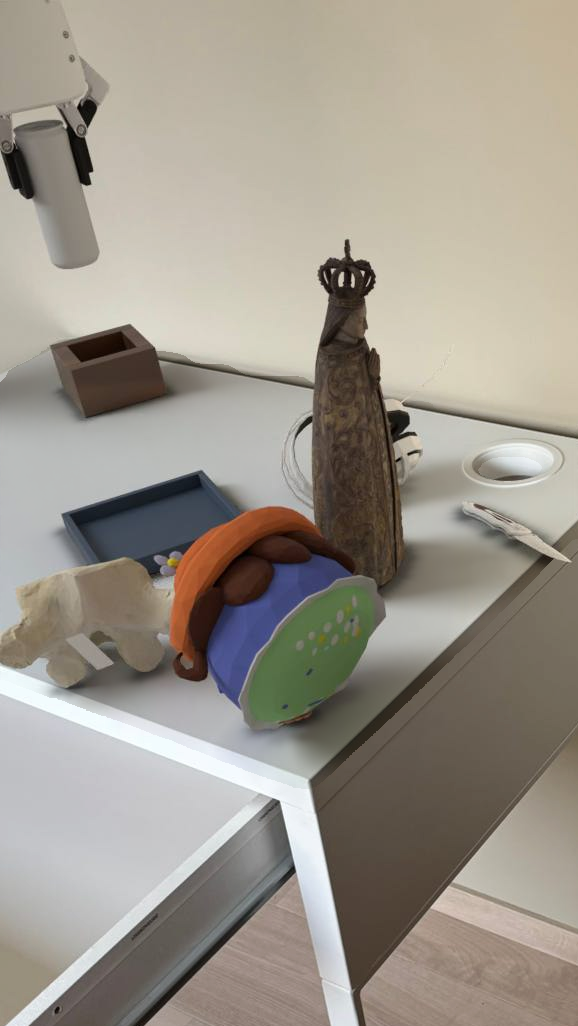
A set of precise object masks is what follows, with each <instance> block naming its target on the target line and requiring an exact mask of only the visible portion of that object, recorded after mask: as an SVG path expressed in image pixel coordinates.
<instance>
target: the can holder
mask: <svg viewBox="0 0 578 1026" xmlns="http://www.w3.org/2000/svg"><path fill="white" fill-rule="evenodd" d="M49 348H50V352H51V354H52V357H53V361H54V363H55V367H56V369H57V373H58V376H59V379H60V382H61V386H62V389H63V391H64V393H66V395H67V396H68V397H69V399H70V400H71V401H72V402H73V404H74V405H75V406H76V408H77V409H78V410H79V411H80V412H81V414H82V415H83V417H85V418H89V417H93V416H96V415H100V414H103V413H106V412H110V411H114V410H116V409H120V408H123V407H127V406H131V405H134V404H138V403H140V402H144V401H148V400H151V399H154V398H158V397H161V396H165V395H167V394H168V391H167V388H166V384H165V380H164V377H163V373H162V369H161V365H160V361H159V357H158V354H157V349H156V347H155V346H154V345H153V344H152V343H151V342H150V341H149V340H148V339H147V338H146V337H145V336H144V335H143V334H141V332H139V330H137V329H136V328H135V327H134V326H133V324H131V323H127V324H124V325H120V326H117V327H113V328H109V329H106V330H105V329H104V330H102V331H98V332H94V333H90V334H87V335H83V336H79V337H76V338H72V339H68V340H64V341H61V342H57V343H52V344H50V345H49Z"/></svg>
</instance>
